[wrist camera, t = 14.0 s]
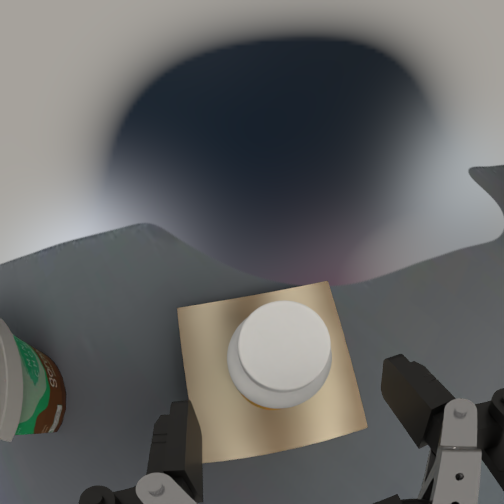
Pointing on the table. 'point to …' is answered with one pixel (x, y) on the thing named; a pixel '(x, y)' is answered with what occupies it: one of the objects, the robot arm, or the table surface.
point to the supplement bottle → (280, 355)
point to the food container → (28, 389)
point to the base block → (237, 407)
